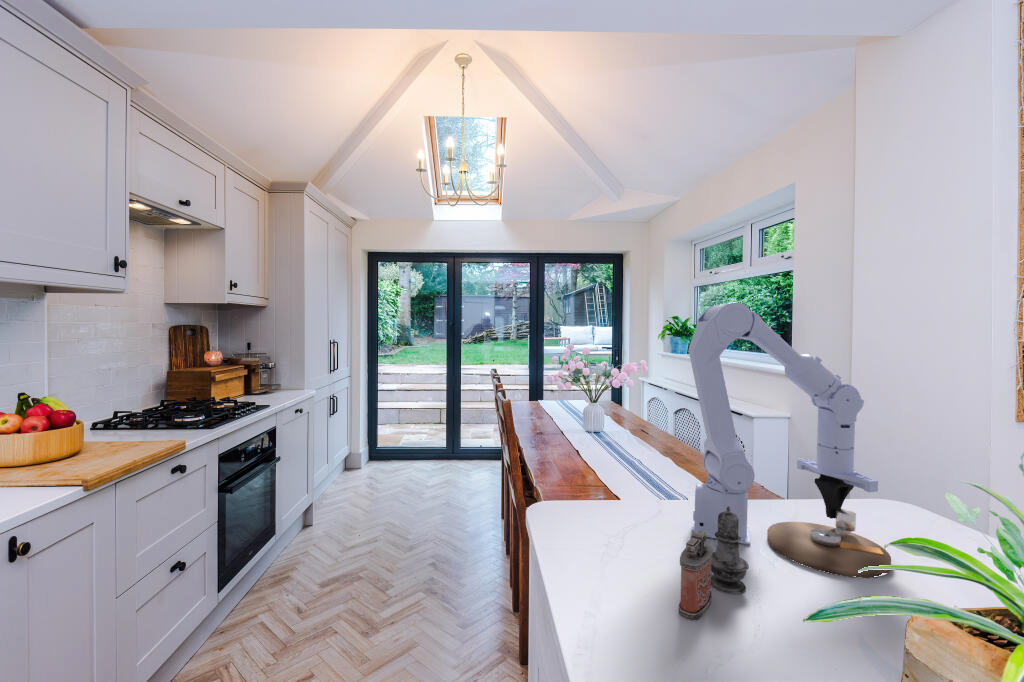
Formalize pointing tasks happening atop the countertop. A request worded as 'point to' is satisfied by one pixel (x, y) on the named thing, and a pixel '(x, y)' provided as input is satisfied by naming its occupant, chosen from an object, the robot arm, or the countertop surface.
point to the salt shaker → (728, 556)
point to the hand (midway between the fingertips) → (833, 517)
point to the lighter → (695, 577)
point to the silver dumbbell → (836, 529)
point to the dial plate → (827, 550)
